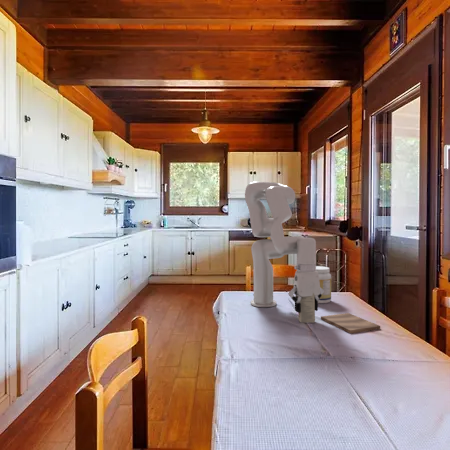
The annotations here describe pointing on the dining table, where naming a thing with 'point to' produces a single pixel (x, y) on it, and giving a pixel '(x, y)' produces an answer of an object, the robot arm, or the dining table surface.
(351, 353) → the dining table surface
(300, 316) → the skincare box
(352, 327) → the walnut board
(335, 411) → the dining table surface
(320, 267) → the supplement tub
